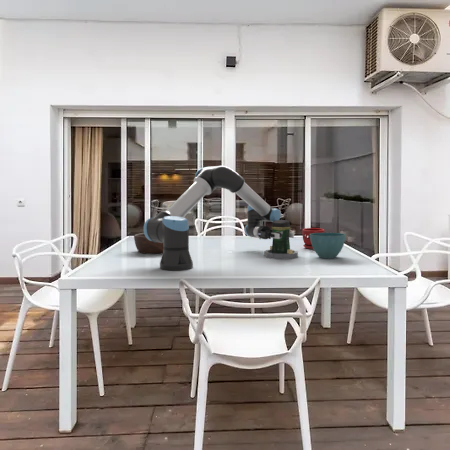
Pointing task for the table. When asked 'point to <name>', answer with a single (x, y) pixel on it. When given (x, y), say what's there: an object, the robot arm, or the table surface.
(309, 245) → the plant pot
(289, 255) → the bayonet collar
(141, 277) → the table surface
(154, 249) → the wooden bowl
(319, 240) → the plant pot
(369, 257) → the table surface
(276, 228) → the coffee jar
